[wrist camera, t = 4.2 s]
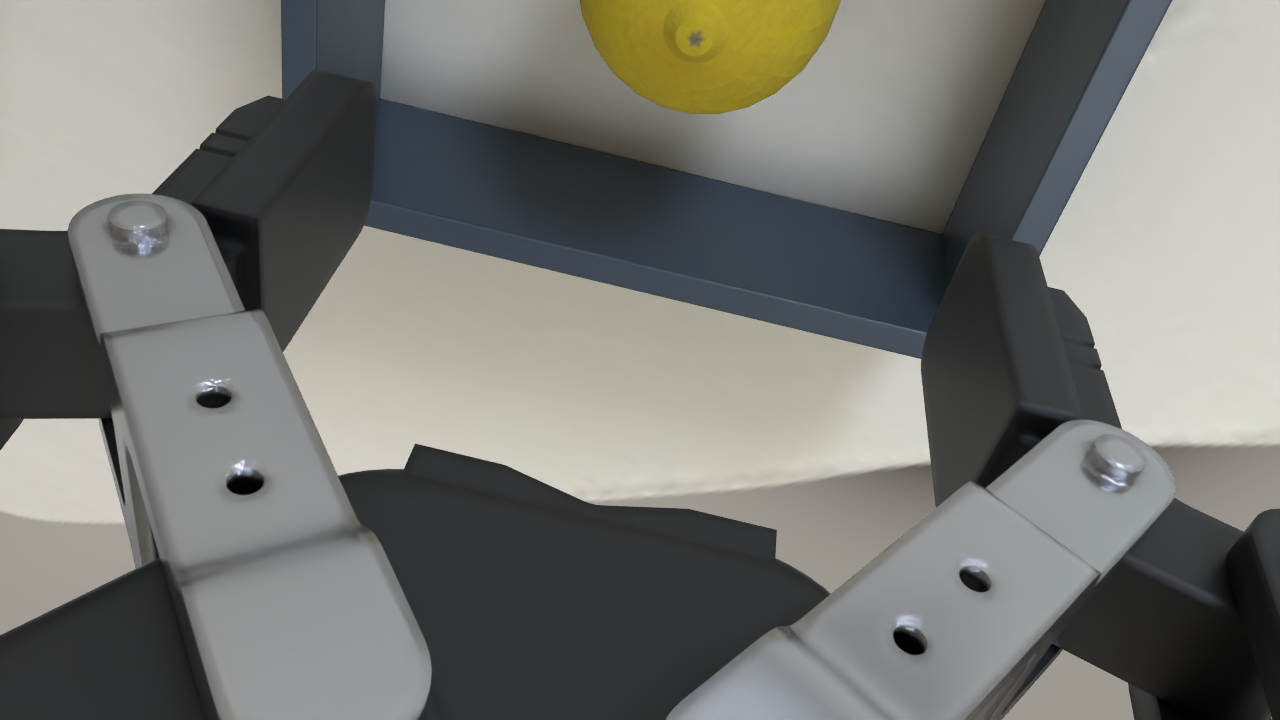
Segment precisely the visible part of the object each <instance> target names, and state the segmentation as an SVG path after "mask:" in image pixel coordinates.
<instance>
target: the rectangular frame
mask: <svg viewBox="0 0 1280 720" xmlns="http://www.w3.org/2000/svg"><path fill="white" fill-rule="evenodd" d="M1171 2H1172V0H1046V3H1045V5H1044V7H1043V9H1042V12H1041V14H1040V16H1039V19H1038V21H1037V23H1036V25H1035V28H1034V30H1033V32H1032V34H1031V37H1030V39H1029V41H1028V43H1027V46H1026V48H1025V50H1024V52H1023V55H1022V57H1021V59H1020V61H1019V64H1018V66H1017V68H1016V70H1015V73H1014V75H1013V77H1012V79H1011V82H1010V84H1009V86H1008V88H1007V91H1006V93H1005V95H1004V97H1003V100H1002V102H1001V104H1000V106H999V109H998V111H997V113H996V115H995V118H994V120H993V122H992V124H991V127H990V129H989V131H988V133H987V136H986V138H985V140H984V142H983V145H982V147H981V149H980V151H979V154H978V156H977V158H976V160H975V163H974V165H973V167H972V169H971V172H970V174H969V176H968V178H967V181H966V183H965V185H964V187H963V190H962V192H961V194H960V196H959V199H958V201H957V203H956V205H955V208H954V210H953V212H952V214H951V217H950V219H949V221H948V223H947V226H946V228H945V230H944V232H943V235H940V234H936V233H932V232H927V231H923V230H919V229H915V228H911V227H907V226H903V225H898V224H894V223H890V222H886V221H882V220H878V219H874V218H870V217H865V216H861V215H857V214H853V213H849V212H845V211H841V210H837V209H832V208H828V207H824V206H820V205H816V204H812V203H808V202H804V201H799V200H795V199H791V198H787V197H783V196H779V195H775V194H771V193H766V192H762V191H758V190H754V189H750V188H746V187H742V186H738V185H733V184H729V183H725V182H721V181H717V180H713V179H709V178H704V177H700V176H696V175H692V174H688V173H684V172H680V171H676V170H671V169H667V168H663V167H659V166H655V165H651V164H647V163H643V162H638V161H634V160H630V159H626V158H622V157H618V156H614V155H610V154H605V153H601V152H597V151H593V150H589V149H585V148H581V147H577V146H572V145H568V144H564V143H560V142H556V141H552V140H548V139H543V138H539V137H535V136H531V135H527V134H523V133H519V132H515V131H510V130H506V129H502V128H498V127H494V126H490V125H486V124H482V123H477V122H473V121H469V120H465V119H461V118H457V117H453V116H449V115H444V114H440V113H436V112H432V111H428V110H424V109H420V108H416V107H411V106H407V105H403V104H399V103H395V102H391V101H387V100H383V99H380V88H381V68H382V48H383V28H384V8H385V0H281V29H282V99H284V100H286V99H287V98H288V97H289V95H290V94H291V93H292V92H293V91H294V90H295V89H296V88H297V87H298V86H299V85H300V83H301V82H302V81H303V80H304V79H305V78H306V77H307V76H308V75H309V74H310V73H311V72H312V71H313V70H315V69H319V70H323V71H328V72H332V73H336V74H340V75H344V76H348V77H352V78H356V79H360V80H364V81H369V82H372V83H373V84H374V86H375V90H376V125H375V147H374V170H373V189H372V197H371V203H370V207H369V211H368V215H367V218H366V221H365V224H364V225H365V226H369V227H373V228H377V229H381V230H385V231H390V232H394V233H398V234H402V235H406V236H410V237H415V238H419V239H423V240H427V241H431V242H435V243H440V244H444V245H448V246H452V247H456V248H461V249H465V250H469V251H473V252H477V253H481V254H486V255H490V256H494V257H498V258H502V259H506V260H511V261H515V262H519V263H523V264H527V265H532V266H536V267H540V268H544V269H548V270H552V271H557V272H561V273H565V274H569V275H573V276H577V277H582V278H586V279H590V280H594V281H598V282H603V283H607V284H611V285H615V286H619V287H623V288H628V289H632V290H636V291H640V292H644V293H648V294H653V295H657V296H661V297H665V298H669V299H674V300H678V301H682V302H686V303H690V304H694V305H699V306H703V307H707V308H711V309H715V310H719V311H724V312H728V313H732V314H736V315H740V316H744V317H749V318H753V319H757V320H761V321H765V322H770V323H774V324H778V325H782V326H786V327H790V328H795V329H799V330H803V331H807V332H811V333H815V334H820V335H824V336H828V337H832V338H836V339H841V340H845V341H849V342H853V343H857V344H861V345H866V346H870V347H874V348H878V349H882V350H886V351H891V352H895V353H899V354H903V355H907V356H912V357H916V358H920V359H922V352H923V347H924V342H925V339H926V335H927V332H928V329H929V327H930V324H931V322H932V320H933V318H934V315H935V313H936V311H937V309H938V307H939V305H940V302H941V300H942V298H943V296H944V294H945V292H946V289H947V287H948V285H949V283H950V281H951V279H952V276H953V274H954V272H955V270H956V268H957V266H958V263H959V261H960V259H961V257H962V255H963V253H964V250H965V248H966V246H967V244H968V243H969V241H970V240H971V238H972V237H973V236H974V235H975V234H976V233H977V232H982V233H986V234H990V235H994V236H998V237H1002V238H1006V239H1011V240H1015V241H1019V242H1023V243H1027V244H1031V245H1034V246H1035V247H1036V249H1037V251H1038V255H1039V256H1040V254H1041V252H1042V250H1043V248H1044V246H1045V244H1046V242H1047V241H1048V239H1049V237H1050V235H1051V233H1052V231H1053V229H1054V227H1055V225H1056V223H1057V221H1058V219H1059V217H1060V215H1061V214H1062V212H1063V210H1064V208H1065V206H1066V204H1067V202H1068V200H1069V198H1070V196H1071V194H1072V192H1073V190H1074V189H1075V187H1076V185H1077V183H1078V181H1079V179H1080V177H1081V175H1082V173H1083V171H1084V169H1085V167H1086V165H1087V163H1088V162H1089V160H1090V158H1091V156H1092V154H1093V152H1094V150H1095V148H1096V146H1097V144H1098V142H1099V140H1100V138H1101V136H1102V135H1103V133H1104V131H1105V129H1106V127H1107V125H1108V123H1109V121H1110V119H1111V117H1112V115H1113V113H1114V111H1115V110H1116V108H1117V106H1118V104H1119V102H1120V100H1121V98H1122V96H1123V94H1124V92H1125V90H1126V88H1127V86H1128V84H1129V83H1130V81H1131V79H1132V77H1133V75H1134V73H1135V71H1136V69H1137V67H1138V65H1139V63H1140V61H1141V59H1142V58H1143V56H1144V54H1145V52H1146V50H1147V48H1148V46H1149V44H1150V42H1151V40H1152V38H1153V36H1154V34H1155V32H1156V31H1157V29H1158V27H1159V25H1160V23H1161V21H1162V19H1163V17H1164V15H1165V13H1166V11H1167V9H1168V7H1169V6H1170V4H1171Z"/></svg>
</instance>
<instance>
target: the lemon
mask: <svg viewBox="0 0 1280 720" xmlns="http://www.w3.org/2000/svg"><path fill="white" fill-rule="evenodd" d="M580 4H581V11H582V16H583V18H584V20H585V23H586V25H587V28H588V30H589V33H590V35H591V38H592V40H593V42H594V45H595V47H596V49H597V51H598V52H599V53H600V55H601V56H602V58H603V59H604V60H605V62H606V63H607V64H608V66H609V67H610V69H611V70H612V71H613V73H614V74H615V75H616V76H617V77H619V78H620V79H621V80H622V81H623V82H624V83H626V84H627V85H628V86H629V87H630V88H631V89H633V90H634V91H635V92H636V93H637V94H639V95H641V96H643V97H645V98H647V99H648V100H650V101H652V102H654V103H656V104H658V105H660V106H662V107H665V108H669V109H674V110H678V111H682V112H686V113H690V114H720V113H724V112H728V111H733V110H737V109H742V108H746V107H749V106H751V105H753V104H755V103H757V102H759V101H761V100H763V99H765V98H767V97H769V96H771V95H773V94H775V93H776V92H777V91H778V90H780V89H781V88H782V87H783V86H784V85H786V84H787V83H788V82H789V81H790V80H791V79H793V78H794V77H795V76H796V75H797V74H799V73H800V72H801V71H802V70H803V69H804V67H805V66H806V65H807V63H808V62H809V61H810V59H811V58H812V56H813V55H814V54H815V52H816V51H817V49H818V48H819V47H820V45H821V44H822V43H823V41H824V40H825V38H826V36H827V34H828V32H829V29H830V27H831V24H832V21H833V19H834V16H835V14H836V11H837V9H838V6H839V4H840V0H580Z"/></svg>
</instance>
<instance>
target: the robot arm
mask: <svg viewBox="0 0 1280 720" xmlns="http://www.w3.org/2000/svg"><path fill="white" fill-rule="evenodd" d="M375 125H376V90H375V86H374V84H373V83H372V82H369V81H364V80H360V79H356V78H352V77H348V76H344V75H340V74H336V73H332V72H328V71H323V70H319V69H315V70H313V71H312V72H311V73H310V74H309V75H308V76H307V77H306V78H305V79H304V80H303V81H302V82H301V83H300V85H299V86H298V87H297V88H296V89H295V90H294V91H293V92H292V93H291V94H290V95H289V97H288V98H287V99H286V100H284V99H280V98H276V97H271V96H266V97H264V98H262V99H259V100H257V101H254V102H252V103H249V104H247V105H245V106H242V107H240V108H237V109H235V110H234V111H233V112H232V113H231V114H230V115H229V116H228V117H227V118H226V119H225V120H224V121H223V122H222V123H221V124H220V125H219V126H218V127H217V128H216V132H215V133H211V134H210V135H209V136H208V138H207V139H206V140H205V141H204V142H203V143H202V144H201V145H200V149H196V150H195V151H194V152H193V153H192V154H191V155H190V156H189V157H188V158H187V159H186V160H185V161H184V162H183V163H182V164H181V165H180V166H179V167H178V168H177V169H176V170H175V171H174V172H173V173H172V174H171V175H170V176H169V177H168V178H167V179H166V180H165V181H164V182H163V183H162V184H161V185H160V186H159V187H158V188H157V189H156V190H155V191H154V192H153V193H152V194H126V195H119V196H114V197H110V198H106V199H103V200H100V201H97V202H94V203H92V204H90V205H88V206H86V207H85V208H83V209H82V210H81V211H79V212H78V213H77V214H76V215H75V216H74V217H73V218H72V220H71V222H70V223H69V227H68V231H35V230H10V229H0V450H1V449H2V447H3V446H4V445H5V444H6V442H7V441H8V440H9V438H10V437H11V436H12V434H13V433H14V432H15V431H16V429H17V428H18V427H19V425H20V424H21V423H22V421H23V419H51V418H98V419H99V425H100V429H101V433H102V437H103V441H104V444H105V448H106V452H107V456H108V459H109V463H110V467H111V471H112V474H113V478H114V482H115V486H116V489H117V493H118V497H119V501H120V504H121V508H122V512H123V516H124V520H125V523H126V527H127V530H128V535H129V539H130V543H131V548H132V552H133V557H134V562H135V567H136V569H135V570H133V571H131V572H129V573H126V574H124V575H122V576H120V577H118V578H116V579H114V580H112V581H110V582H108V583H106V584H104V585H102V586H100V587H98V588H96V589H94V590H92V591H90V592H88V593H86V594H84V595H82V596H80V597H78V598H76V599H74V600H72V601H69V602H68V603H66V604H63V605H61V606H59V607H57V608H55V609H53V610H51V611H49V612H47V613H45V614H43V615H41V616H39V617H37V618H35V619H33V620H31V621H29V622H27V623H25V624H23V625H21V626H19V627H17V628H14V629H12V630H10V631H8V632H6V633H4V634H2V635H0V720H1002V719H1003V718H1004V716H1005V715H1006V714H1007V713H1008V712H1009V711H1010V709H1011V708H1012V707H1013V706H1014V705H1015V704H1016V703H1017V702H1018V701H1019V699H1020V698H1021V697H1022V696H1023V695H1024V694H1025V692H1027V690H1028V689H1029V688H1030V687H1031V686H1032V685H1033V684H1034V682H1035V681H1036V680H1037V679H1038V678H1039V677H1040V675H1042V673H1043V672H1044V671H1045V670H1046V669H1047V668H1048V667H1049V665H1050V664H1051V663H1052V662H1053V661H1054V660H1055V658H1056V657H1057V656H1058V655H1059V654H1060V653H1061V651H1062V650H1063V649H1064V650H1066V651H1068V652H1069V653H1071V654H1073V655H1075V656H1077V657H1079V658H1081V659H1083V660H1085V661H1087V662H1089V663H1091V664H1093V665H1095V666H1097V667H1098V668H1101V669H1102V670H1104V671H1106V672H1108V673H1110V674H1112V675H1114V676H1116V677H1118V678H1120V679H1122V680H1124V681H1126V682H1128V685H1129V693H1130V697H1131V703H1132V709H1133V714H1134V720H1280V509H1270V510H1267V511H1264V512H1262V513H1260V514H1259V515H1258V516H1257V517H1256V518H1255V519H1254V520H1253V522H1252V523H1251V524H1250V525H1249V527H1248V528H1247V529H1246V530H1245V531H1244V532H1243V531H1241V530H1239V529H1237V528H1234V527H1232V526H1230V525H1228V524H1225V523H1224V522H1221V521H1219V520H1217V519H1215V518H1213V517H1211V516H1209V515H1207V514H1204V513H1202V512H1200V511H1198V510H1196V509H1193V508H1191V507H1190V506H1188V505H1186V504H1184V503H1182V502H1180V501H1179V500H1177V499H1176V498H1174V497H1175V494H1176V483H1175V479H1174V476H1173V474H1172V472H1171V470H1170V468H1169V467H1168V466H1167V464H1166V463H1165V461H1164V460H1163V459H1162V458H1161V457H1160V456H1159V455H1158V454H1157V453H1156V452H1155V451H1154V450H1153V449H1152V448H1151V447H1150V446H1148V445H1147V444H1146V443H1144V442H1143V441H1142V440H1140V439H1139V438H1137V437H1135V436H1134V435H1132V434H1130V433H1128V432H1126V431H1124V430H1122V427H1121V424H1120V421H1119V418H1118V415H1117V412H1116V409H1115V405H1114V402H1113V399H1112V396H1111V393H1110V390H1109V387H1108V383H1107V380H1106V377H1105V374H1104V371H1103V370H1100V368H1101V361H1100V358H1099V355H1098V352H1097V349H1094V345H1095V343H1094V340H1093V336H1092V333H1091V330H1090V327H1089V324H1088V321H1087V318H1086V316H1085V315H1084V314H1083V313H1082V312H1081V311H1080V309H1079V308H1078V307H1077V306H1076V305H1075V304H1074V302H1073V301H1072V300H1071V299H1070V298H1069V296H1068V295H1067V294H1066V293H1065V292H1064V291H1062V290H1058V289H1054V288H1050V287H1047V283H1046V280H1045V276H1044V273H1043V269H1042V266H1041V262H1040V259H1039V255H1038V251H1037V249H1036V247H1035V246H1034V245H1031V244H1027V243H1023V242H1019V241H1015V240H1011V239H1006V238H1002V237H998V236H994V235H990V234H986V233H982V232H977V233H976V234H975V235H974V236H973V237H972V238H971V240H970V241H969V243H968V244H967V246H966V248H965V250H964V253H963V255H962V257H961V259H960V261H959V263H958V266H957V268H956V270H955V272H954V274H953V276H952V279H951V281H950V283H949V285H948V287H947V289H946V292H945V294H944V296H943V298H942V300H941V302H940V305H939V307H938V309H937V311H936V313H935V315H934V318H933V320H932V322H931V324H930V327H929V329H928V332H927V335H926V339H925V342H924V347H923V352H922V359H921V375H922V384H923V393H924V403H925V412H926V421H927V430H928V440H929V449H930V458H931V468H932V477H933V486H934V495H935V505H936V508H935V509H934V510H933V511H931V513H929V514H928V515H927V516H925V517H924V518H923V519H922V520H921V521H920V522H918V523H917V524H916V525H914V526H913V527H912V528H911V529H910V530H908V531H907V532H906V533H905V534H903V535H902V536H901V537H900V538H899V539H897V540H896V541H895V542H894V543H893V544H891V545H890V546H889V547H888V548H886V549H885V550H884V551H883V552H881V553H880V554H879V555H878V556H877V557H875V558H874V559H873V560H872V561H870V562H869V563H868V564H867V565H866V566H864V567H863V568H862V569H861V570H859V571H858V572H857V573H856V574H855V575H853V576H852V577H851V578H850V579H848V580H847V581H846V582H845V583H844V584H842V585H841V586H840V587H839V588H838V589H836V590H835V591H834V592H833V593H829V592H828V591H827V590H826V589H825V588H824V587H822V586H821V585H819V584H818V583H817V582H815V581H814V580H813V579H811V578H810V577H808V576H807V575H806V574H804V573H802V572H801V571H799V570H797V569H795V568H793V567H792V566H790V565H789V564H787V563H785V562H782V561H780V560H778V559H776V558H775V553H776V532H777V530H774V529H770V528H766V527H762V526H757V525H753V524H749V523H745V522H740V521H736V520H732V519H728V518H724V517H720V516H716V515H711V514H707V513H703V512H699V511H694V510H690V509H677V508H651V507H627V506H626V507H625V506H601V505H594V504H590V503H587V502H584V501H582V500H580V499H578V498H575V497H573V496H571V495H569V494H567V493H564V492H562V491H560V490H558V489H556V488H554V487H551V486H549V485H547V484H545V483H543V482H540V481H538V480H536V479H534V478H532V477H529V476H527V475H525V474H523V473H521V472H519V471H516V470H514V469H512V468H510V467H508V466H505V465H502V464H498V463H494V462H490V461H485V460H481V459H477V458H473V457H469V456H464V455H460V454H456V453H452V452H448V451H444V450H439V449H435V448H431V447H427V446H423V445H418V444H415V445H414V448H413V450H412V452H411V454H410V457H409V459H408V461H407V464H406V466H405V468H404V469H383V470H368V471H361V472H355V473H348V474H344V475H340V476H338V475H337V473H336V471H335V468H334V466H333V464H332V462H331V459H330V457H329V455H328V453H327V451H326V448H325V446H324V444H323V442H322V439H321V437H320V435H319V433H318V430H317V428H316V426H315V424H314V422H313V419H312V417H311V415H310V413H309V410H308V408H307V406H306V404H305V401H304V399H303V397H302V395H301V393H300V390H299V388H298V386H297V384H296V381H295V379H294V377H293V375H292V372H291V370H290V368H289V366H288V364H287V361H286V359H285V357H284V355H283V352H284V350H285V348H286V347H287V345H288V344H289V342H290V341H291V339H292V338H293V336H294V335H295V333H296V331H297V330H298V328H299V327H300V325H301V324H302V322H303V321H304V319H305V317H306V316H307V314H308V313H309V311H310V310H311V308H312V307H313V305H314V304H315V302H316V300H317V299H318V297H319V296H320V294H321V293H322V291H323V290H324V288H325V287H326V285H327V283H328V282H329V280H330V279H331V277H332V276H333V274H334V273H335V271H336V270H337V268H338V266H339V265H340V263H341V262H342V260H343V259H344V257H345V256H346V254H347V253H348V251H349V249H350V248H351V246H352V245H353V243H354V242H355V240H356V239H357V237H358V235H359V234H360V232H361V230H362V228H363V226H364V224H365V221H366V218H367V215H368V211H369V207H370V203H371V197H372V189H373V170H374V147H375ZM1271 716H1272V719H1271Z"/></svg>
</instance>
